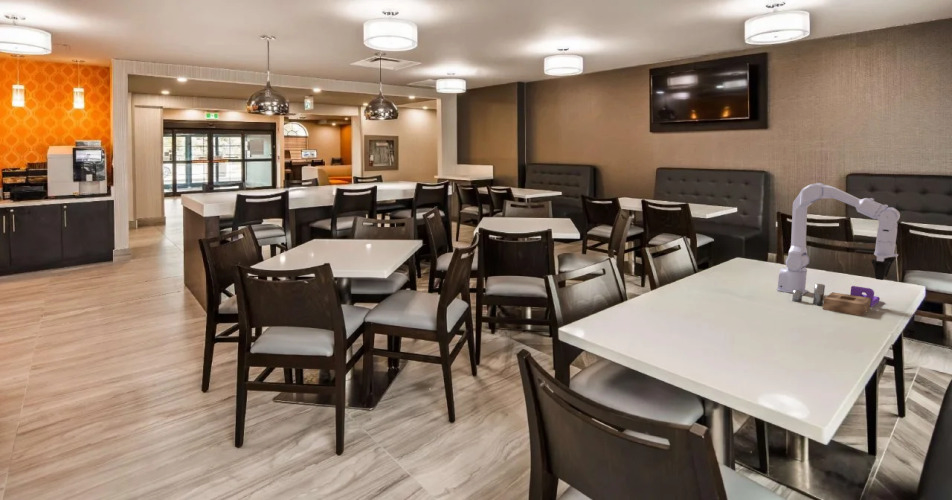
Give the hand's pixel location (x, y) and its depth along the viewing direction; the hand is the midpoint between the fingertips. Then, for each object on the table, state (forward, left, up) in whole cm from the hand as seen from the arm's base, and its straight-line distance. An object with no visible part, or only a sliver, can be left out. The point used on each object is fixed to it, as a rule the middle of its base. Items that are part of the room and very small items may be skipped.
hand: (881, 277), depth 202 cm
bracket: (-4, 0, -11) cm, 11 cm away
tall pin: (-16, -15, -10) cm, 24 cm away
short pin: (-23, -15, -10) cm, 29 cm away
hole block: (-7, -15, -10) cm, 19 cm away
